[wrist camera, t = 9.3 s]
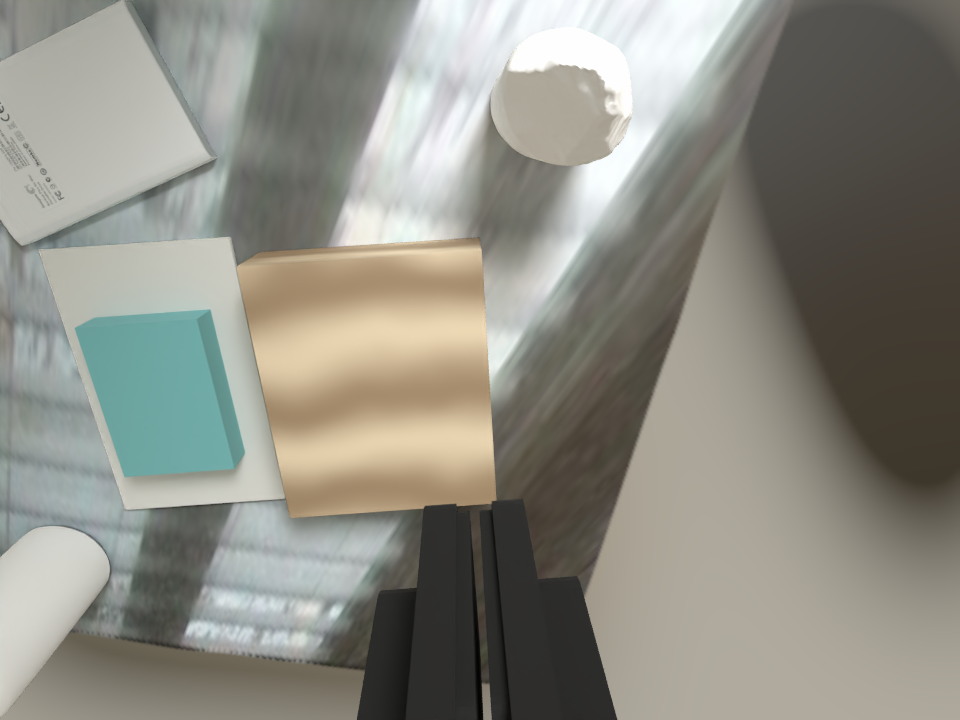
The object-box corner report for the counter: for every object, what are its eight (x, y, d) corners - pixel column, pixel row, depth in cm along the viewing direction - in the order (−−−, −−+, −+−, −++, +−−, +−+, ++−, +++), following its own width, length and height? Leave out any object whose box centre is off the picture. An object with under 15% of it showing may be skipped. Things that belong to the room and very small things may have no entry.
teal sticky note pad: (196, 319, 34) (210, 309, 36) (74, 328, 34) (94, 317, 36) (234, 468, 37) (245, 452, 39) (124, 477, 37) (140, 460, 39)
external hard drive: (221, 157, 33) (36, 242, 35) (137, 3, 30) (-62, 102, 32) (210, 159, 32) (17, 247, 33) (120, -3, 29) (-88, 101, 30)
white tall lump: (479, 122, 21) (559, -36, 20) (472, 125, 33) (522, 24, 31) (615, 203, 23) (701, 61, 21) (563, 179, 34) (617, 85, 32)
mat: (41, 249, 34) (38, 250, 34) (230, 236, 34) (228, 237, 34) (127, 507, 41) (125, 509, 41) (286, 496, 41) (285, 498, 41)
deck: (259, 251, 35) (236, 266, 31) (478, 237, 35) (481, 250, 31) (305, 482, 41) (290, 517, 37) (492, 469, 41) (496, 503, 37)
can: (60, 506, 41) (-90, 649, 29) (132, 565, 43) (18, 720, 32) (-1, 552, 42) (-167, 706, 31) (72, 608, 44) (-59, 771, 33)
